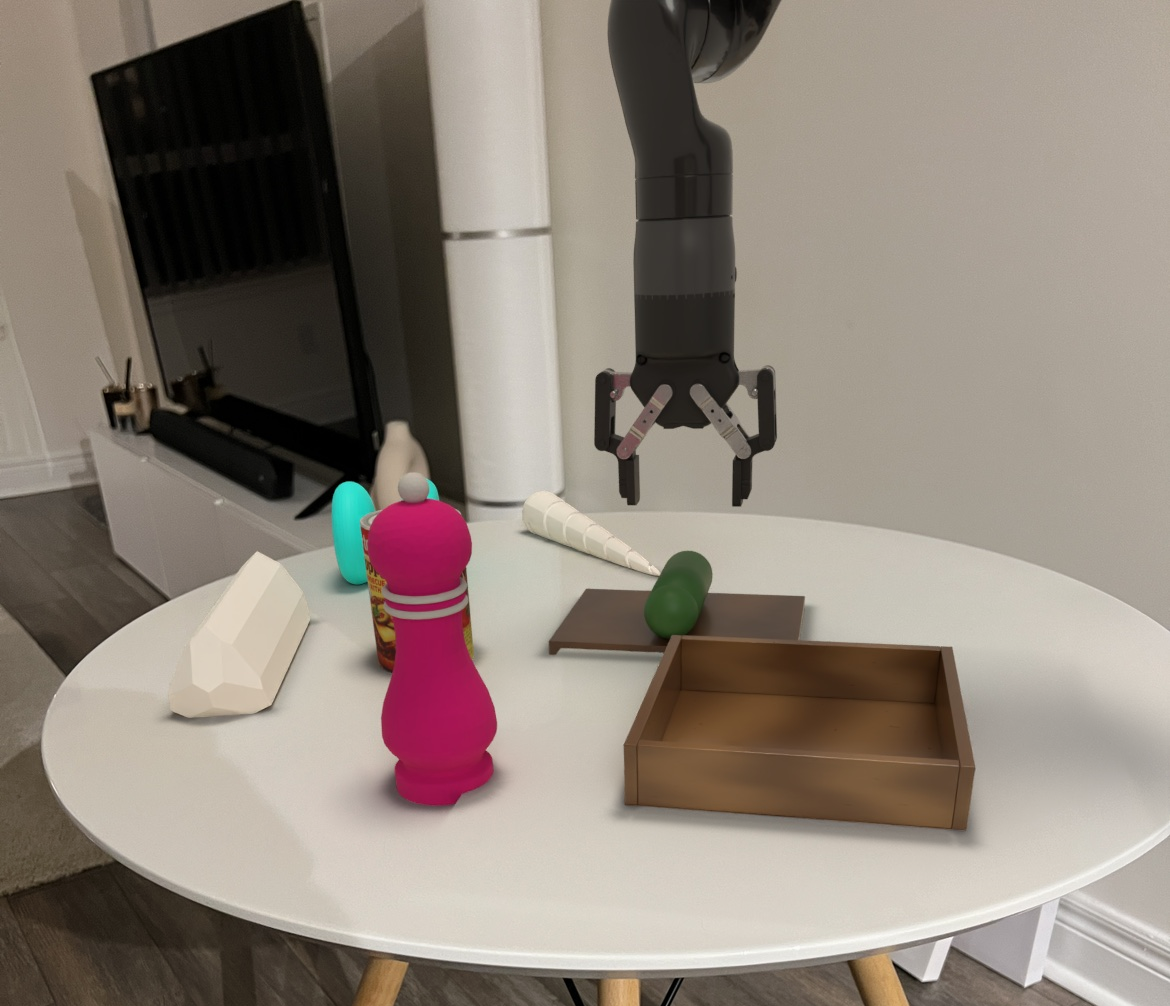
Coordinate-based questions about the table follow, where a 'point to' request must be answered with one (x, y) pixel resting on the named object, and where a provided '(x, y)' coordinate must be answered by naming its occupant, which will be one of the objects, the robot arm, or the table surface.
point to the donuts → (354, 528)
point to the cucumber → (678, 594)
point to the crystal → (242, 644)
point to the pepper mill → (430, 650)
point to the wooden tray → (804, 732)
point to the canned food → (384, 620)
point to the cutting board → (622, 627)
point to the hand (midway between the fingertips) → (685, 504)
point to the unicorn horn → (578, 531)
